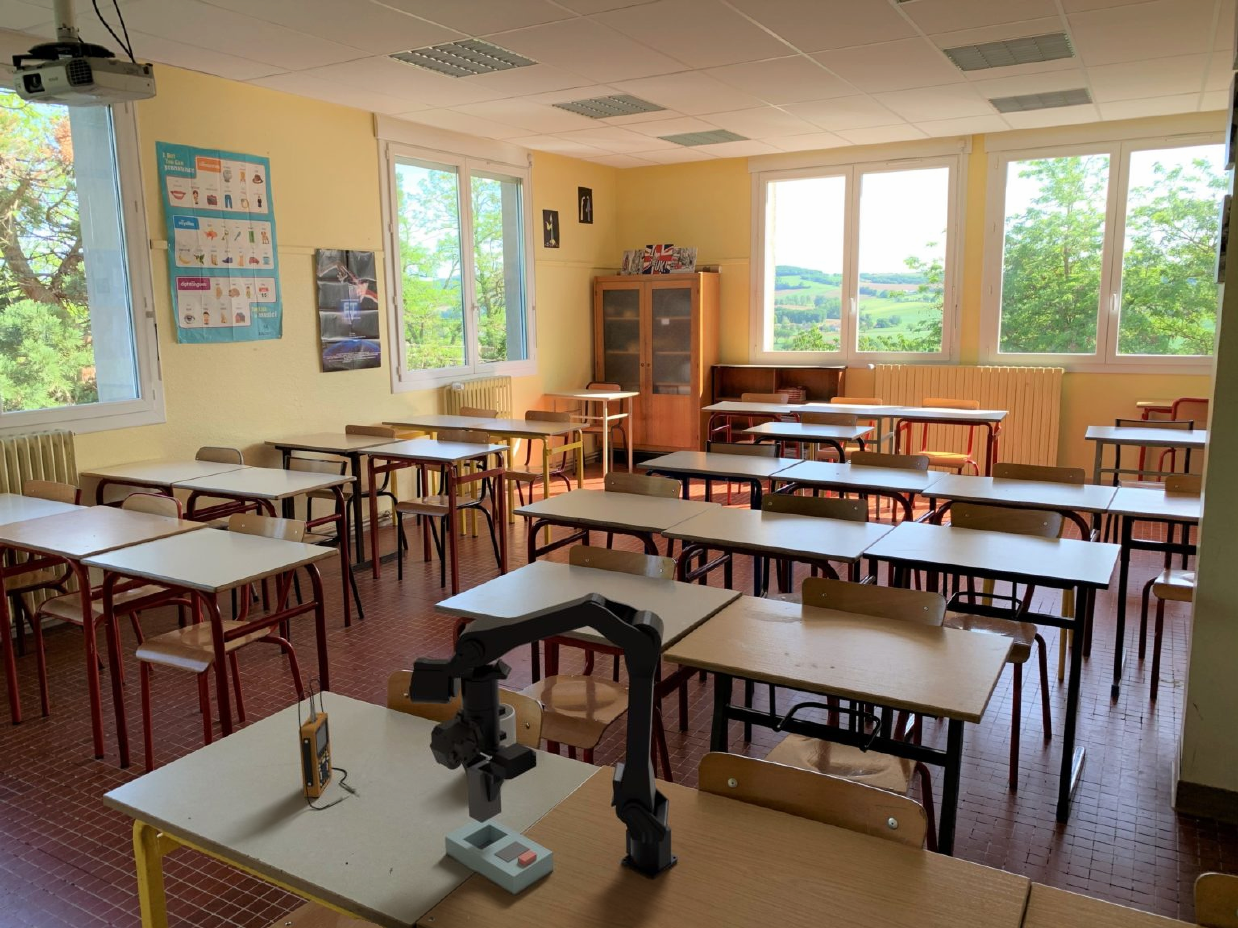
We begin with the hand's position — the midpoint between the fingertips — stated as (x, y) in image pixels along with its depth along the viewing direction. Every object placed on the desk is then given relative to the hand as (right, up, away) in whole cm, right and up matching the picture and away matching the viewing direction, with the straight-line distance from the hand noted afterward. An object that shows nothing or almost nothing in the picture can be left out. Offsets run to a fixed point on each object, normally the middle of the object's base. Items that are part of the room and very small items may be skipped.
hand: (484, 797), depth 142 cm
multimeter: (-30, -7, +22) cm, 38 cm away
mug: (-2, -5, +31) cm, 31 cm away
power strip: (+2, -10, 0) cm, 10 cm away
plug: (0, -3, 0) cm, 3 cm away
